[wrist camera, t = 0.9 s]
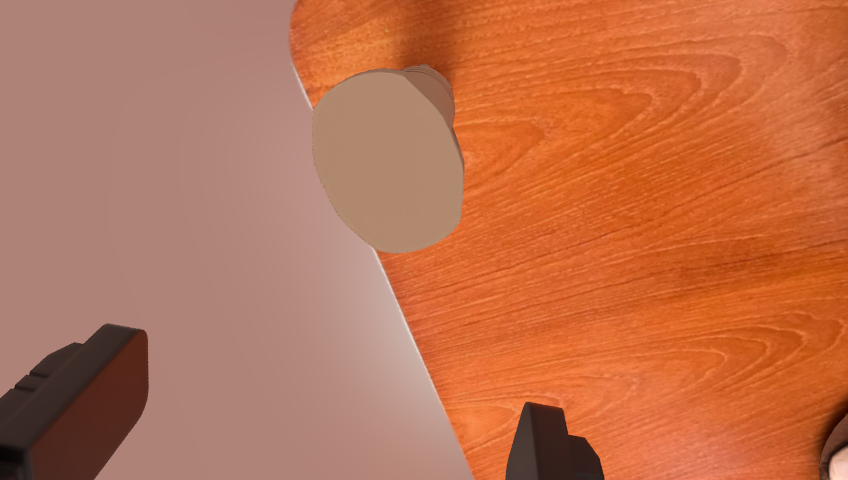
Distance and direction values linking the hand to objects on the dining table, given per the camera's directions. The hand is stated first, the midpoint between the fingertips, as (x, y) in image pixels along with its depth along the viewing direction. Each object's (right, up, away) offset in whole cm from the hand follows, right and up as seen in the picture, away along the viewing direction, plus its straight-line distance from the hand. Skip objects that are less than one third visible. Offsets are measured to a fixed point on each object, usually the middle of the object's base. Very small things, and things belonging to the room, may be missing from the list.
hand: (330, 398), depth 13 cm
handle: (+2, +12, +22) cm, 25 cm away
